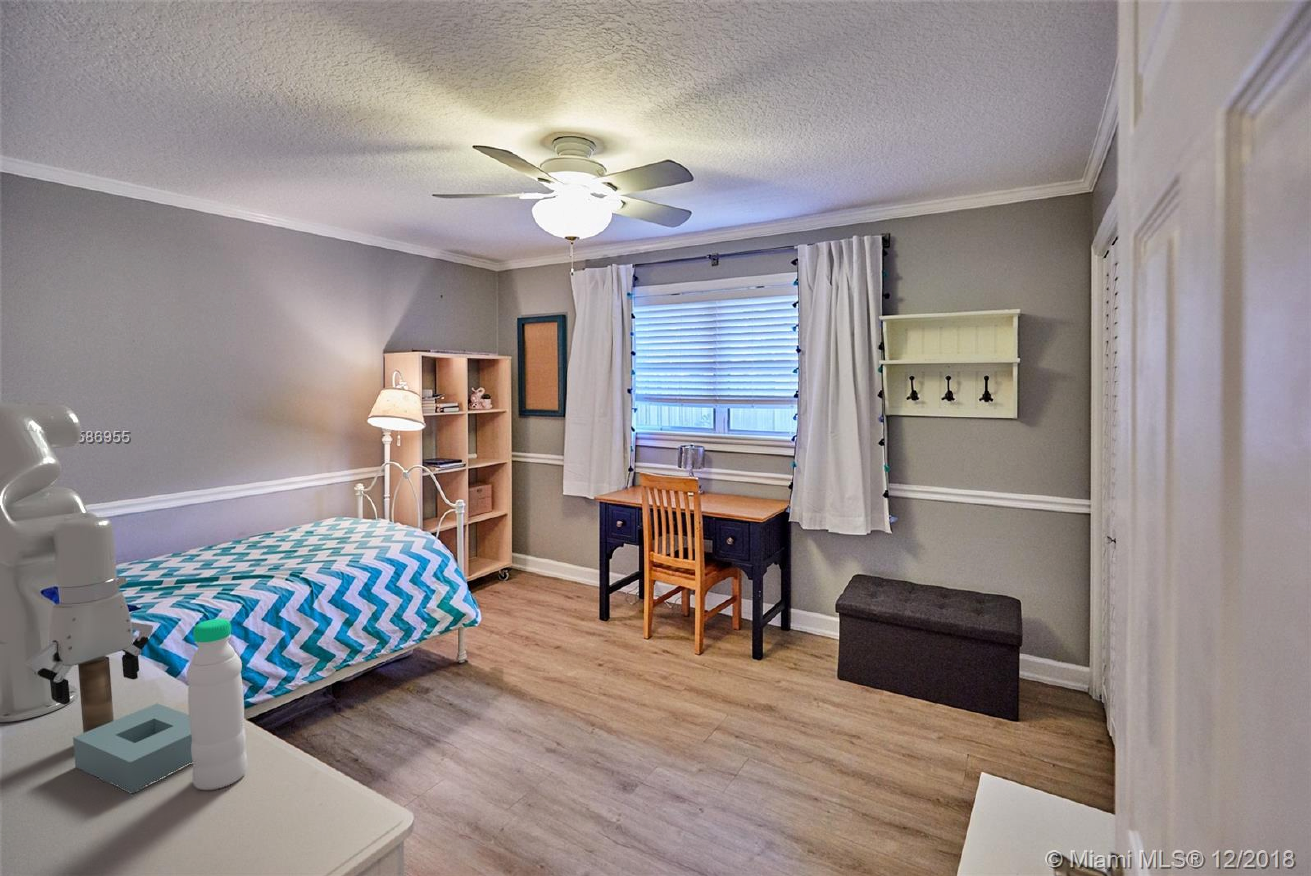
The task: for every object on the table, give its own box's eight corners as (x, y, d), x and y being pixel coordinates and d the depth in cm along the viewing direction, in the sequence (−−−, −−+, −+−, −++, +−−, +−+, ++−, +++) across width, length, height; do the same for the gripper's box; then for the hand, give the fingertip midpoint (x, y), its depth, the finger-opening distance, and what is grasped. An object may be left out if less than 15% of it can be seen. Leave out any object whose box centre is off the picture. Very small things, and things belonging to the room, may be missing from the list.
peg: (79, 742, 110) (73, 663, 109) (106, 731, 114) (101, 654, 112) (91, 748, 108) (85, 668, 107) (119, 736, 112) (114, 658, 111)
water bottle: (220, 795, 96) (211, 633, 94) (181, 789, 98) (171, 629, 96) (258, 767, 103) (250, 616, 101) (221, 762, 105) (212, 612, 102)
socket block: (75, 767, 103) (73, 737, 103) (158, 730, 114) (157, 703, 114) (132, 794, 97) (130, 762, 96) (215, 752, 107) (213, 723, 107)
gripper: (135, 575, 118) (143, 666, 119) (10, 605, 102) (20, 709, 104) (159, 579, 115) (167, 672, 116) (34, 610, 99) (44, 717, 101)
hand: (98, 689), depth 110 cm, fingers open, 9 cm apart
